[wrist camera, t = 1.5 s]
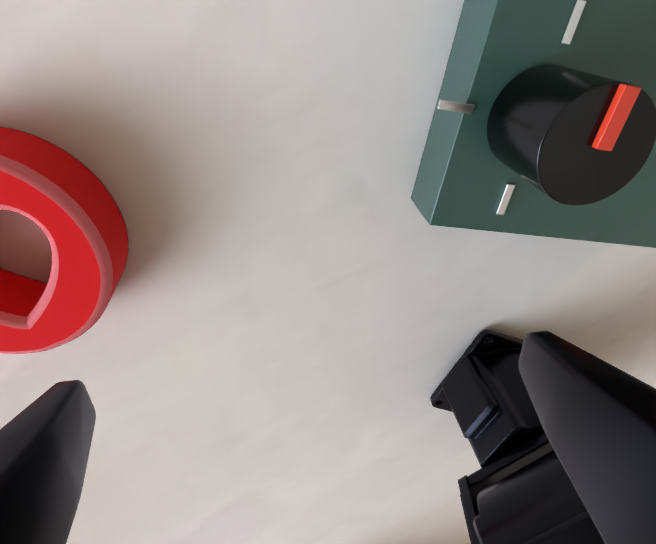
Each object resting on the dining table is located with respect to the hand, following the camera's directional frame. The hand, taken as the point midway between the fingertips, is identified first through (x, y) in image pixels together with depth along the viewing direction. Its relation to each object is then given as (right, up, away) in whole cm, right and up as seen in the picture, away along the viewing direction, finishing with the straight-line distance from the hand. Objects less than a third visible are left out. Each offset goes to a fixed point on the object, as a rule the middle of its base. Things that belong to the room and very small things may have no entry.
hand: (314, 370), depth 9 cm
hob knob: (+8, +8, +9) cm, 15 cm away
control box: (+11, +9, +12) cm, 19 cm away
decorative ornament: (-14, +4, +12) cm, 19 cm away
